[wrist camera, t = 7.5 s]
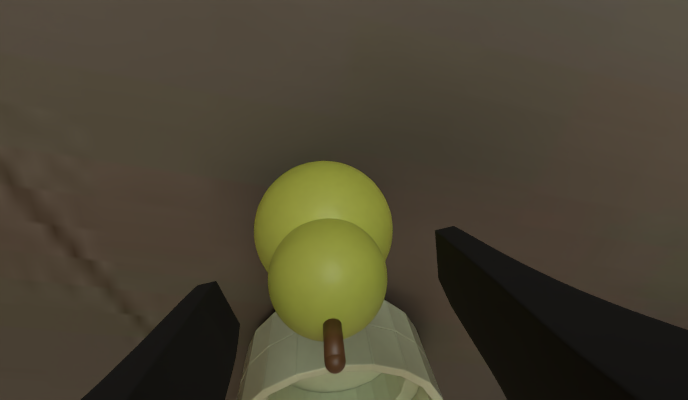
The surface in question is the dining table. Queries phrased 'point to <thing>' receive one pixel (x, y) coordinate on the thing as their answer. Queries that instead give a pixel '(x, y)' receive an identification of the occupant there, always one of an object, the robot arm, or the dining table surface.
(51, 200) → the dining table surface
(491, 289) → the robot arm
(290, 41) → the dining table surface
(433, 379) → the bowl
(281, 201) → the pear
